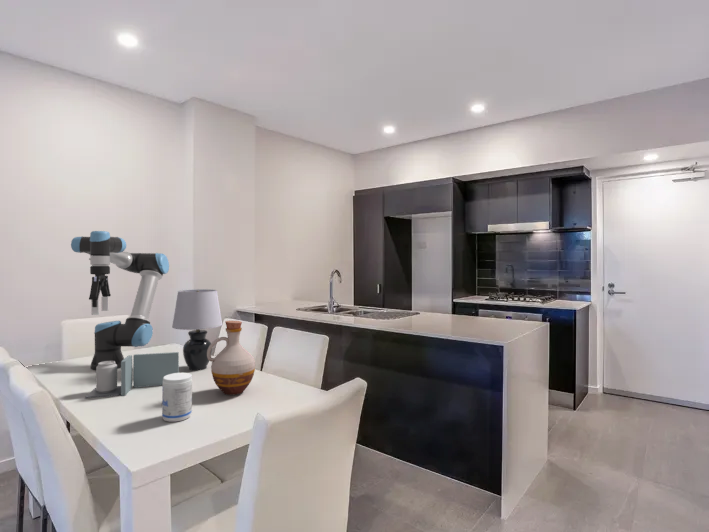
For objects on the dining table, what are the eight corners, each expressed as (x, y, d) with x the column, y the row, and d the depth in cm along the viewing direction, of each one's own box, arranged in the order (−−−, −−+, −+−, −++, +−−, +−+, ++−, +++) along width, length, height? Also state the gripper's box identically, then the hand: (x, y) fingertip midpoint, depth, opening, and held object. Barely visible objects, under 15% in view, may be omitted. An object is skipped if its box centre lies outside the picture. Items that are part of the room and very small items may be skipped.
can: (91, 392, 165) (91, 363, 165) (106, 387, 172) (106, 359, 172) (107, 394, 164) (107, 365, 163) (121, 388, 171) (121, 360, 171)
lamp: (228, 370, 203) (228, 291, 202) (177, 377, 189) (177, 293, 189) (215, 360, 223) (215, 288, 222) (168, 366, 209) (168, 290, 209)
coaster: (95, 389, 172) (95, 387, 172) (126, 386, 175) (126, 385, 175) (85, 398, 161) (85, 396, 161) (119, 395, 164) (119, 394, 164)
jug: (209, 402, 156) (209, 325, 156) (203, 389, 172) (204, 319, 172) (259, 395, 165) (260, 322, 165) (250, 383, 181) (250, 317, 181)
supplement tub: (157, 417, 141) (157, 376, 141) (183, 410, 148) (183, 370, 148) (170, 425, 135) (170, 381, 135) (197, 417, 142) (197, 375, 142)
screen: (129, 386, 176) (128, 354, 176) (178, 382, 181) (178, 352, 181) (121, 395, 164) (121, 361, 163) (174, 391, 169) (174, 358, 169)
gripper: (99, 265, 192) (99, 309, 192) (80, 265, 168) (80, 316, 168) (117, 265, 194) (117, 309, 194) (100, 265, 170) (101, 316, 170)
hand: (100, 312), depth 181 cm, fingers open, 13 cm apart
